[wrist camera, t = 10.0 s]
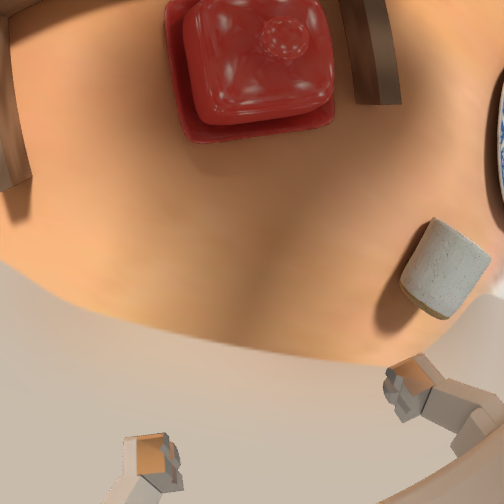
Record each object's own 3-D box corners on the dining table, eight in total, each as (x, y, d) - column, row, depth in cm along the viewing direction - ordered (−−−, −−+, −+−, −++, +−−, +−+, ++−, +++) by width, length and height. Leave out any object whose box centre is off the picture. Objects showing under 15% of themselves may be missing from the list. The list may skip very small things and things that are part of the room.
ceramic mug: (381, 279, 31) (427, 321, 24) (419, 208, 28) (475, 237, 22) (434, 299, 35) (474, 334, 28) (466, 241, 32) (511, 270, 26)
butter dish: (311, -6, 19) (366, -44, 11) (330, 126, 24) (394, 136, 16) (161, 3, 17) (155, -48, 9) (183, 147, 22) (186, 164, 14)
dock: (-11, 10, 12) (-31, 1, 9) (343, -58, 16) (362, -73, 13) (13, 184, 19) (-8, 195, 16) (376, 103, 23) (401, 104, 20)
